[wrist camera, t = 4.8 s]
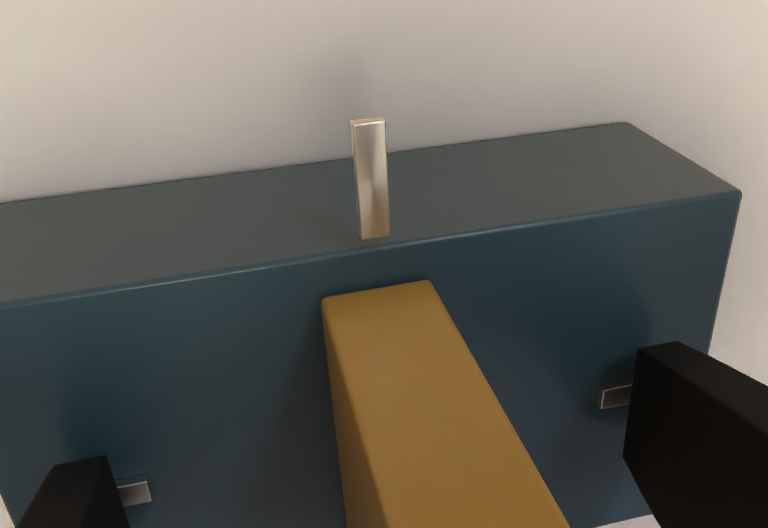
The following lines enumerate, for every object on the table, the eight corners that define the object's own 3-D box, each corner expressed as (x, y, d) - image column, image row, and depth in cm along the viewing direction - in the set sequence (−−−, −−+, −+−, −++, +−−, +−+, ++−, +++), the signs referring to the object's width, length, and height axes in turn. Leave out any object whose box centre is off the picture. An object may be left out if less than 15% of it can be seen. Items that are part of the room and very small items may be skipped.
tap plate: (640, 21, 11) (781, 71, 9) (586, 457, 16) (668, 578, 13) (-52, 92, 10) (-147, 185, 7) (111, 559, 14) (92, 723, 11)
